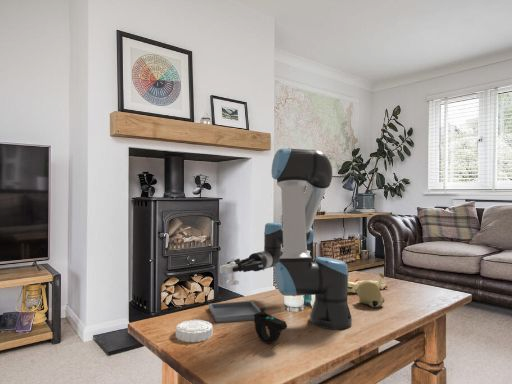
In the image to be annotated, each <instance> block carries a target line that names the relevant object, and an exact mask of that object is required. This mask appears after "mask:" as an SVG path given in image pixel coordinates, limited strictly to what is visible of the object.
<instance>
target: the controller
mask: <svg viewBox="0 0 512 384" xmlns="http://www.w3.org/2000/svg"><path fill="white" fill-rule="evenodd" d="M259 310H261V311H260V312H259V313H256V314H254V316H255V317H254V320H253V321H254V327H255V332H256V334H257V336H258V338H259V339H260V340H261V342H263V343H265V344H272V343H275V342H276V341H277V340H279V339H280V336H281V334H282V333H281V332H282V331H284V330H286V329H287V328H288V324H287V322H286V321H285V320H284V319H280V318H277V317H275V316H272V315H271V314H268V313H267V312H266V310H267V308H266V307H259ZM267 329H268V332H269V335H268V332H267Z"/></svg>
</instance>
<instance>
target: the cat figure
mask: <svg viewBox="0 0 512 384" xmlns="http://www.w3.org/2000/svg"><path fill="white" fill-rule="evenodd" d="M379 277H380V278H379V279H378V280H374V281H375V282H376V283H377V285H378V287H379V289H384V288H389V287H388V284H387V283H384V284H383V283H382V281H383V280H384V279H385V276H384V274H383V273H382V272H380V273H379ZM363 281H364V280H360V278H357V279H356V280H355V281H354V282H353V281H348V290H347V293H356V294H357V292H355V289H357V288H358V286H359V284H360V283H361V282H363Z"/></svg>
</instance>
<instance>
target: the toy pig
mask: <svg viewBox="0 0 512 384" xmlns="http://www.w3.org/2000/svg"><path fill="white" fill-rule="evenodd" d="M362 281H363V282H361V283H360V284H359V286H358V288H357V289H355V292H357V293H356V294H357V297H358V298H359V300H358V301H359V302H358V303H360V304H365V305H368V306H370V307H371V308H379V307H382V306H383V304H384V303H385V298H384V297H383V296H382V292H381V290H380V289H381V288H379V287H378V285H377V283H376V282H375V281H376V280H373V279H366V280H362Z"/></svg>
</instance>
